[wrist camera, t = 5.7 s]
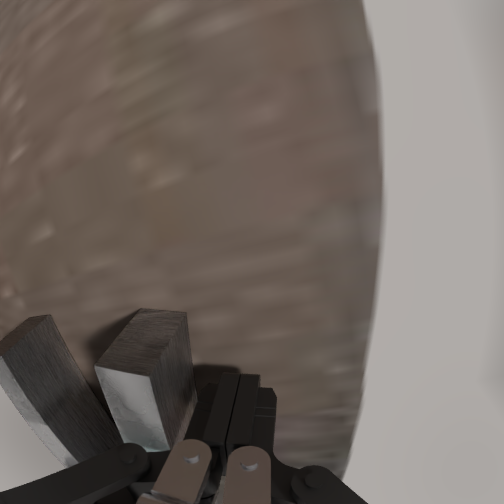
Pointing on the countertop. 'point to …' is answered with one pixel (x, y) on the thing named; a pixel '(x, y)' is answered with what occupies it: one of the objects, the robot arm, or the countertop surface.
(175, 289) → the countertop surface
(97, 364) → the arm
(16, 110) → the countertop surface
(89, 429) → the base
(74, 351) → the countertop surface
